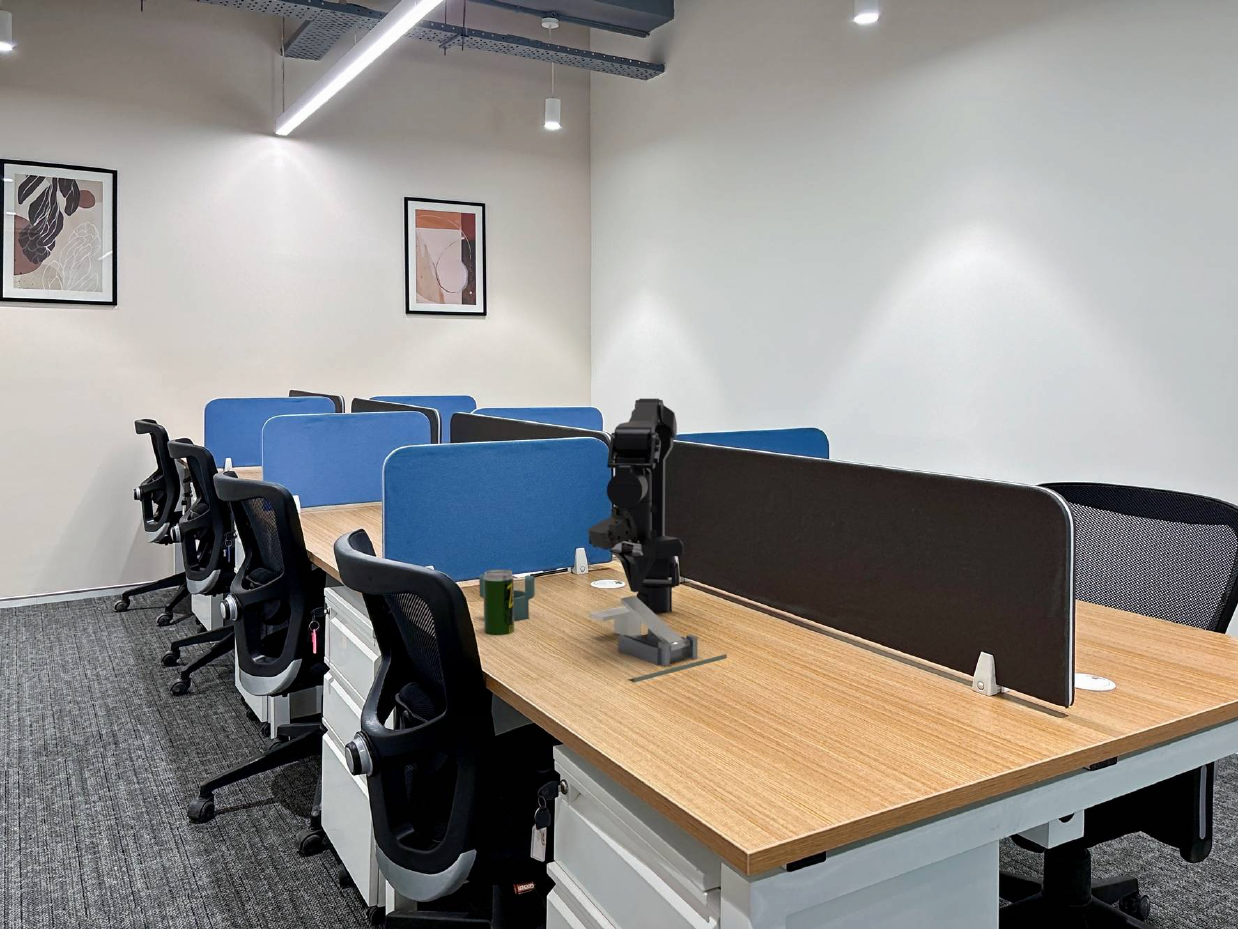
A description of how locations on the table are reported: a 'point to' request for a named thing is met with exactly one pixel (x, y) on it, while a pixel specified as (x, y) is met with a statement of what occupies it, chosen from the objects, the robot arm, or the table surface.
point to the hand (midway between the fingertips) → (634, 591)
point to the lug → (620, 620)
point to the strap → (654, 623)
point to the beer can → (498, 602)
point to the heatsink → (655, 648)
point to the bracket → (518, 597)
